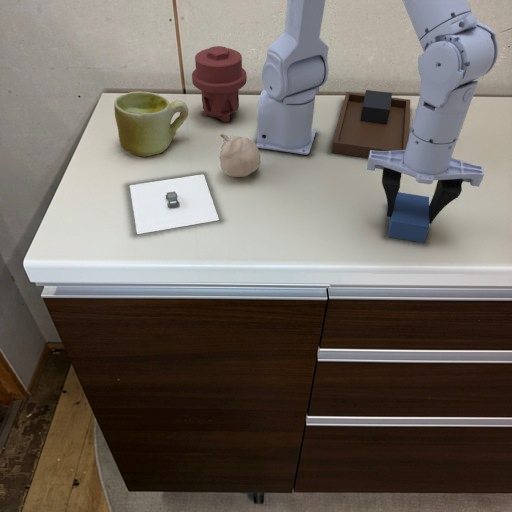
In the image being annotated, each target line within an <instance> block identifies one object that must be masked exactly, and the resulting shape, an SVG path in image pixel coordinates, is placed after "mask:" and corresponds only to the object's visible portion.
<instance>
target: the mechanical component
mask: <svg viewBox="0 0 512 512" xmlns="http://www.w3.org/2000/svg"><path fill="white" fill-rule="evenodd" d="M194 61H195V62H194V63H195V69H194V70H193V71H192V73H191V80H192V81H191V82H192V84H193V86H194V87H195V88H196V89H198V90H199V91H201V105H202V110H203V115H205V116H207V117H212V118H216V119H218V120H220V121H221V122H223V123H228V122H230V120H231V117H230V115H233V114H234V113H236V112H237V111H238V110H239V108H240V96H239V93H240V91H239V90H241V89H242V88H243V87H245V86H246V84H247V80H248V79H247V75H248V74H247V71H246V69H244V68H243V57H242V54H241V52H239V51H238V50H237V49H236V50H235V49H233V48H229V47H226V46H222V45H215V46H211V47H209V48H205V49H203V50H200V51H199V52H196V54H195V56H194Z"/></svg>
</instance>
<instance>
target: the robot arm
mask: <svg viewBox="0 0 512 512" xmlns="http://www.w3.org/2000/svg"><path fill="white" fill-rule="evenodd" d="M402 2H403V4H404V8H405V10H406V13H407V15H408V18H409V20H410V22H411V24H412V27H413V29H414V32H415V34H416V37H417V39H418V41H419V44H420V46H421V48H422V49H421V50H422V51H423V53H422V54H419V55H418V58H417V59H418V60H417V71H418V75H419V78H420V86H419V90H418V94H419V98H418V102H417V106H416V109H415V114H414V117H413V121H412V124H411V127H410V131H409V137H408V143H407V146H406V150H398V151H372V150H370V154H369V158H367V164H366V170H367V171H370V172H371V171H372V172H374V171H376V170H382V174H381V175H382V176H381V184H382V188H383V190H384V194H385V197H386V203H387V204H386V206H387V208H386V217H388V218H390V217H391V216H392V213H393V210H394V204H395V200H396V197H397V194H398V192H400V188H401V179H402V174H403V175H406V176H409V177H412V178H415V182H417V183H418V184H424V185H432V184H433V183H434V181H437V182H436V186H435V189H434V193H433V195H432V198H431V200H430V201H429V225H431V224H432V223H433V222H434V221H435V219H436V217H437V216H438V215H439V214H440V213H441V211H442V210H444V208H446V206H448V205H449V204H450V203H451V202H453V201H454V200H457V199H458V198H459V197H460V195H461V193H462V191H463V187H462V185H463V182H464V183H469V184H470V186H472V187H480V185H481V183H482V181H483V179H484V176H485V172H484V166H483V165H477V164H473V163H469V162H466V161H463V160H460V159H457V158H454V157H453V154H454V151H455V148H456V146H457V142H458V140H459V137H460V134H461V131H462V128H463V126H464V123H465V121H466V118H467V115H468V113H469V109H470V106H471V103H472V100H473V97H474V95H475V92H476V89H477V86H478V83H479V81H478V80H479V79H480V78H483V77H484V76H486V75H487V74H489V73H490V71H491V70H492V69H493V68H494V67H495V64H496V62H497V59H498V55H499V47H498V41H497V37H496V33H495V31H494V30H493V29H492V28H491V27H489V26H488V25H486V24H484V23H481V21H479V19H478V17H477V16H475V14H473V12H472V9H471V7H470V5H469V3H468V0H402ZM325 4H326V0H287V1H286V11H285V18H284V19H285V20H284V29H283V32H282V33H281V35H280V36H279V37H278V38H276V39H275V41H273V42H272V43H271V44H270V46H269V47H268V48H267V51H266V52H267V54H266V60H265V61H264V63H263V64H262V65H263V66H262V69H261V82H262V85H263V88H264V89H263V90H262V91H261V93H260V95H259V99H258V105H257V116H256V117H257V118H256V119H257V121H256V122H257V125H256V128H257V129H256V131H257V132H256V143H255V144H256V146H257V147H258V149H263V150H269V151H271V150H272V151H279V152H285V153H292V154H298V155H299V154H300V155H304V156H308V155H309V154H310V152H311V149H312V146H313V143H314V140H315V136H316V133H317V131H316V130H315V129H313V123H314V112H315V104H316V103H315V101H316V95H318V94H320V87H322V86H324V85H325V84H326V82H327V81H328V77H329V63H328V55H329V54H328V53H329V46H328V44H327V43H326V42H325V40H323V38H321V36H320V35H321V29H322V24H323V16H324V11H325V6H326V5H325Z"/></svg>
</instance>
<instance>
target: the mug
mask: <svg viewBox="0 0 512 512" xmlns="http://www.w3.org/2000/svg"><path fill="white" fill-rule="evenodd" d="M113 107H114V119H115V122H116V126H117V131H118V139H119V140H118V141H119V144H120V147H121V148H122V149H123V150H124V151H125V152H128V153H129V154H132V155H134V156H137V157H140V158H141V157H149V156H154V155H158V154H161V153H164V151H166V150H167V149H168V148H169V146H170V145H171V142H172V141H173V139H174V137H175V135H176V133H177V132H178V129H179V128H180V127H181V126H182V125H183V123H184V122H185V121H186V120H187V118H188V116H189V110H190V109H189V107H188V105H187V103H186V102H185V101H182V100H174V101H171V102H169V100H168V98H166V97H164V95H161V94H159V93H155V92H151V91H139V90H138V91H129V92H127V93H126V94H122V95H119V96H117V97H116V98H115V100H114V106H113ZM176 113H177V114H178V113H179V116H177V117H176V118H175V119H174V121H173V122H172V119H173V117H174V116H175V114H176Z"/></svg>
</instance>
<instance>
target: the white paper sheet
mask: <svg viewBox="0 0 512 512" xmlns="http://www.w3.org/2000/svg"><path fill="white" fill-rule="evenodd" d="M129 190H130V198H131V203H132V210H133V218H134V223H135V229H136V230H135V231H136V235H141V234H148V233H152V232H158V231H165V230H169V229H170V230H171V229H175V228H183V227H187V226H193V225H199V224H204V223H210V222H216V221H220V218H219V215H218V212H217V209H216V206H215V203H214V200H213V197H212V194H211V192H210V189H209V186H208V183H207V180H206V177H205V174H195V175H189V176H182V177H177V178H169V179H163V180H156V181H150V182H149V181H148V182H144V183H137V184H131V185H129Z"/></svg>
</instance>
